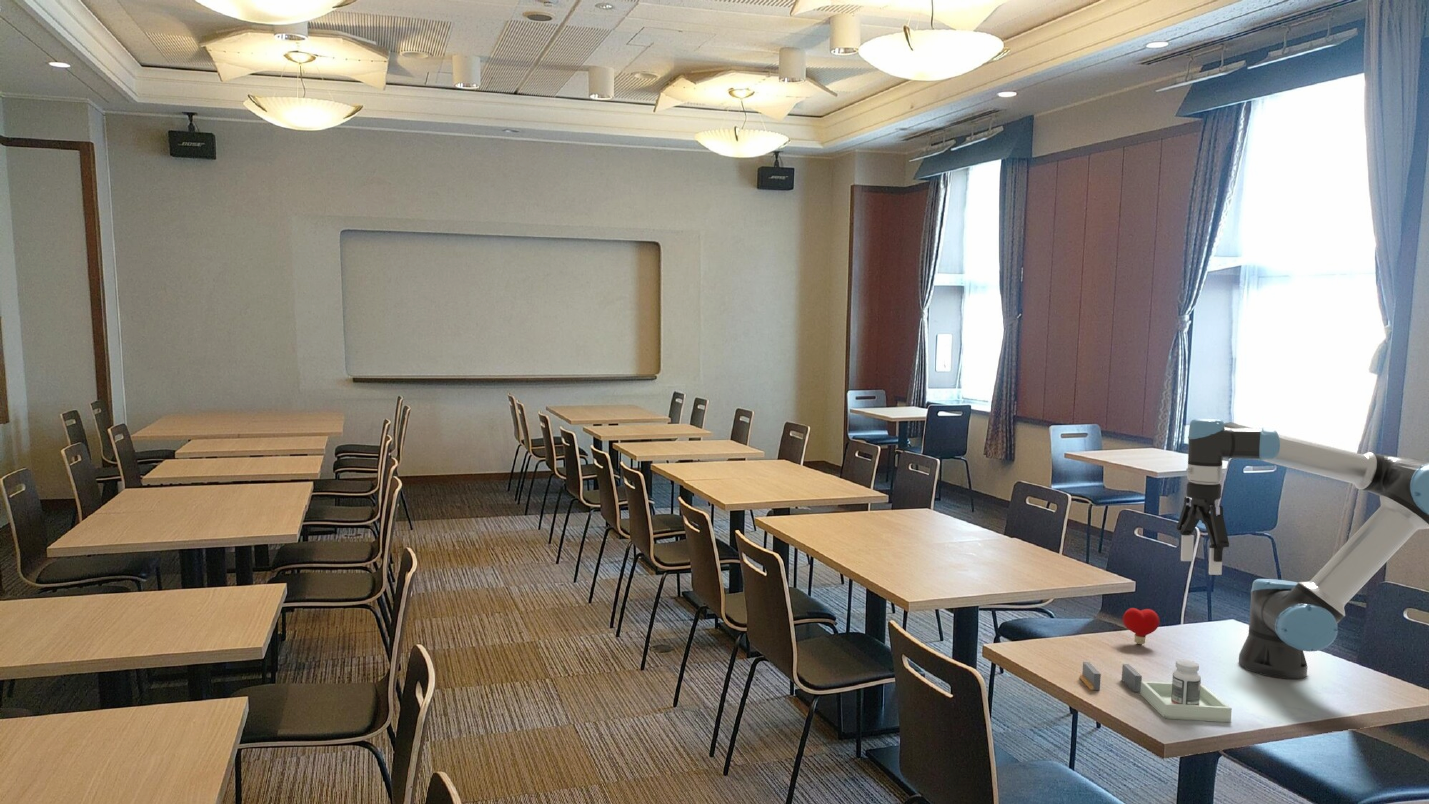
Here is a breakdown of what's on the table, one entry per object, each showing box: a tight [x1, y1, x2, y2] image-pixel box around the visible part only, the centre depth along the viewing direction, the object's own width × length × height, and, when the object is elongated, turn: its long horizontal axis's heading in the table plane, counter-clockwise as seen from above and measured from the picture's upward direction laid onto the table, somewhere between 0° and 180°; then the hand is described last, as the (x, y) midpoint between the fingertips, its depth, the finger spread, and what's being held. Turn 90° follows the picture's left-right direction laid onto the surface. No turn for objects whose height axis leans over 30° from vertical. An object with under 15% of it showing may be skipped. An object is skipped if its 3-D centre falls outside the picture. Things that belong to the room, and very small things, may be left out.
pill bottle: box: [1171, 658, 1202, 705], centre depth 210 cm, size 6×6×10 cm
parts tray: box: [1140, 681, 1232, 723], centre depth 211 cm, size 14×14×3 cm
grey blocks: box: [1079, 661, 1143, 693], centre depth 223 cm, size 12×8×4 cm, turn 86°
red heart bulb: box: [1122, 607, 1160, 646], centre depth 254 cm, size 9×7×10 cm
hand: (1200, 567), depth 228 cm, fingers open, 13 cm apart
